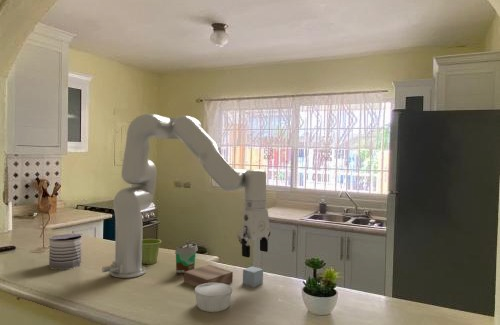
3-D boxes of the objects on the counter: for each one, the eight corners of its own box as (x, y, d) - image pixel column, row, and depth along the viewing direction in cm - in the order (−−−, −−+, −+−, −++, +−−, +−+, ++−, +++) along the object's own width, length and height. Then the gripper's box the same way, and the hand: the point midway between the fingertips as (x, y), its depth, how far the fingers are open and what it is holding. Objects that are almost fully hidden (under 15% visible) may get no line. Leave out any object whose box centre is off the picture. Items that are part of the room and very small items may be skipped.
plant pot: (133, 261, 154) (133, 240, 153) (155, 258, 159) (155, 237, 159) (142, 267, 146) (142, 245, 146) (164, 263, 152) (165, 242, 152)
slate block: (253, 287, 128) (254, 272, 128) (242, 283, 131) (243, 269, 131) (262, 283, 132) (263, 269, 131) (251, 280, 135) (252, 266, 135)
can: (57, 272, 138) (58, 239, 138) (43, 265, 145) (43, 234, 145) (87, 265, 147) (87, 234, 147) (72, 259, 154) (72, 230, 154)
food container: (190, 277, 136) (191, 249, 136) (174, 275, 137) (175, 248, 137) (201, 267, 148) (202, 242, 148) (186, 265, 149) (187, 240, 149)
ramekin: (213, 295, 119) (213, 279, 119) (239, 305, 112) (240, 288, 112) (186, 306, 110) (186, 288, 110) (213, 317, 103) (213, 298, 103)
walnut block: (207, 292, 123) (207, 280, 123) (183, 283, 131) (183, 271, 131) (232, 283, 132) (232, 271, 132) (208, 275, 140) (209, 264, 140)
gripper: (247, 208, 122) (247, 261, 122) (278, 203, 135) (278, 250, 135) (230, 206, 126) (230, 257, 127) (262, 201, 140) (262, 247, 140)
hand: (255, 253), depth 131 cm, fingers open, 9 cm apart
